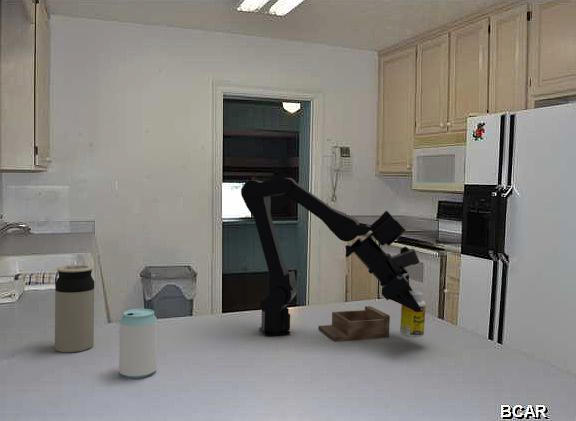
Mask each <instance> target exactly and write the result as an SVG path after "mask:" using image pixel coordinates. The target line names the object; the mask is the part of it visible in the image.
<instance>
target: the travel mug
mask: <svg viewBox="0 0 576 421" xmlns="http://www.w3.org/2000/svg"><path fill="white" fill-rule="evenodd" d="M93 270H94V266H92V265H88V264H87V265H86V264H71V265H70V264H67V265H62V266H58V267H57V268H56V271H57V274H58V278H56V281H55V283H54V285H55V286H54V287H55V288H54V289H55V290H54V306H55V307H54V350H56V351H58V352H61V353H69V354H70V353H79V352H80V353H81V352H83V351H86V350H89V349H90V348H92V347H93V346H94V343H95V342H94V341H95V336H94V335H95V334H94V333H95V280H94V278H93V276H92V271H93Z"/></svg>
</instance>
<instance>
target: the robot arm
mask: <svg viewBox="0 0 576 421" xmlns="http://www.w3.org/2000/svg"><path fill="white" fill-rule="evenodd" d="M240 195H241V197H242V199H243V202H244V204H245V206H246V208H247V210H248V211H249V212H250V214H251V216H252V217H253V219H254V224H255V226H256V230H257V234H258V237H259V241H260V245H261V248H262V251H263V256H264V260H265V263H266V267H267V270H268V277H267V285H268V286H267V287H268V288H267V289H268V295H267V296H266V297H265V298H264V299H262V300H261V301H260V302H259V306H260V310H261V324H260V327H259V328H258V329H259V331H260V332H261V333H262V334H263V335H264V336H266V337H270V336H272V337H273V336H285V335H286V336H288V335H291V331H290V330H291V314H290V313H289V308H288V305H289V304H290V302H291V301H292V300H293V299H294V298H295V297H296V295H297V292H298V287H299V283H298V282H297V280H296V273H295V270H292V271H289V270H288V268H287V267H286V264H285V260H284V259H283V258H284V257H283V254H282V251H281V247H280V242H279V240H278V236H277V233H276V229H275V225H274V222H273V218H272V214H271V205H272V201H271V198H272V197H275V196H276V197H277V196H281V195H286V196H288V197H290V199H292V200H293V201H295V202H296V203H297V204H299V205H300V206H301V207H303V208H304V209H305V210H307V211H309V212H310V213H311V214H313V215H314V216H315V217H316V218H318V219H320V221H322V222H323V223H324V224H325V225H326V227H327V228H328V229H329V231H331V232H332V233H333V235H335V236H336V238H338V240H340V241H342V242H351V241H353V240H354V242H353V243H352V244H346V245H345V247H344V248H345V257H346V258H348V257H350V256H351V255H352V254H354V255H355V256H356V258H358V259H359V260H360V262H361V263H362V264H363V265H364V266H365V267H366V268H367V269H368V273H369V274H370V275H373V276H374V278H375V279H376V280H377V281H378V282H379V285H380V286H381V296H382V297H383V298H384V299H385V300H386V301H388V300H390V301H393V302H395V303H397V304H400V305H401V306H402V305H404V306H406V307H408V308H410V309H412V310H414V311H416V312H419V311H420V310H421V308H420V306H419V305H418V303H417V302H416V300H415V298H414V297H413V295H412V294H411V292H410V291H414V290H413V288H412V286H411V285H410V274H409V271H408V269H407V267H410V266H412V265H413V266H415V265H417V264H419V263H420V259H419V256H418V254H417V252H416V249H415V248H411V249H409V248H408V247H407V246H404V247H401V248H400V250H399V253H397V254H396V255H393V256H392V255H391V254H390V253H387V252H385V250H383V248H382V247H383V246H385V245H387V247H390V246H391V245H392V244H393V243H395V241H397V240H398V239H399V238H401V236H403V235H404V234H405V233H406V232H407V229H406V228H405V226H403V225H402V223H401V222H400V221H399V220H398V219H397V218H395V217H394V216H393V215H392V214H391V213H390V212H389V211H388V210H386V211H384V212H383V213H382V214H381V216H379V218H378V219H376V220H375V221H374V222H372V224H369V223H364V222H363V223H362V222H359V220H357V218H355V217H353V216H351V215H349V214H347V213H345V212H343V211H340V210H337V209H335V208H334V207H331V206H330V205H328V204H327V203H326V202H325V201H323V200H322V199H320V198H319V197H318V196H316V195H315V194H313V193H312V192H311V191H309V190H307V189H306V188H304V187H303V186H302V185H300V184H299V183H298V182H296V180H295V179H293V178H291V177H283V178H281V179H276V180H275V179H274V180H268V181H263V180H262V181H261V180H253V179H252V180H248V181H246V182H244V184H243V185H242V187H241V189H240ZM370 231H371V233H370V234H369V235H368V236H366V235H367V234H368V233H369V232H370ZM360 236H366V237H365V238H364V239H362V238H360ZM357 237H359V238H358V239H356V238H357ZM372 237H373V238H372ZM355 239H356V240H355ZM374 239H375V240H376V241H377V242H378V243H377V242H376V241H375V240H374ZM379 244H380V245H379ZM381 246H382V247H381ZM405 274H406V275H405Z"/></svg>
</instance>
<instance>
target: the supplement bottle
mask: <svg viewBox="0 0 576 421" xmlns="http://www.w3.org/2000/svg"><path fill="white" fill-rule="evenodd" d="M410 292H411V294H412V295H413V297H414V298H415V300H416V302H417V303H418V305H419V306H420V308H421V310H420V311H419V312H416V311H414V310H412V309H410V308H408V307H406V306H404V305H401V308H400V309H401V310H400V327H399V329H400V330H399V332H400V334H401V335H402V336H404V337H406V338H407V337H408V338H422V337H423V336H424V334H425V321H426V320H425V319H426V305H427V304H426V302H425V301H424V300H423V296H424V295H423V292H422V291H418V290H417V291H415V290H413V291H410Z"/></svg>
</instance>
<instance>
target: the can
mask: <svg viewBox="0 0 576 421" xmlns="http://www.w3.org/2000/svg"><path fill="white" fill-rule="evenodd" d="M118 336H119V337H118V338H119V340H118V342H119V345H118V346H119V350H118V352H119V353H118V355H119V356H118V373H120V374H121V375H122V376H124V377H126V378H128V379H141V378H142V379H143V378H146V377H149V376H150V375H152V374H153V373H155V372H156V371H157V370H158V369H157V368H158V364H157V362H158V318H157V317H156V315H155V311H154V310H153V309H151V308H133V309H129V310H128V309H127V310H125V311H124V312H123V315H122V317H121V319H120V321H119V335H118Z"/></svg>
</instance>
